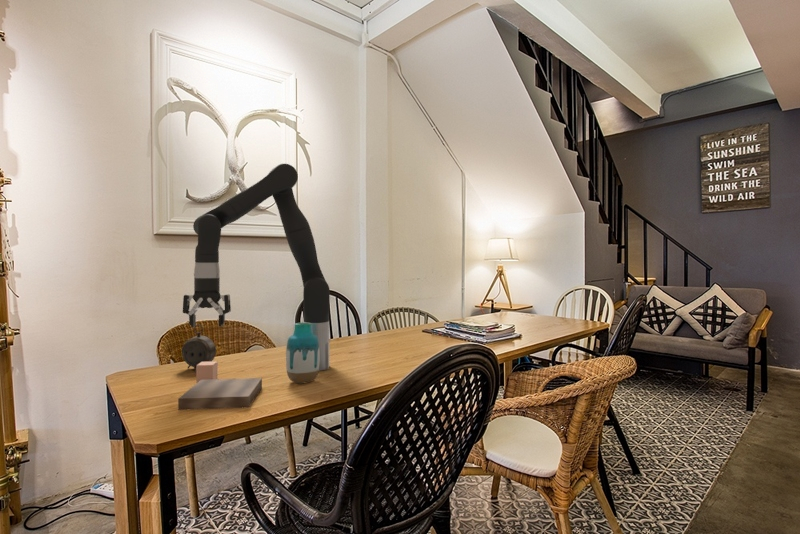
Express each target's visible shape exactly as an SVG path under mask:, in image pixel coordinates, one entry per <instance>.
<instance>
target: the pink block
mask: <svg viewBox="0 0 800 534" xmlns="http://www.w3.org/2000/svg"><path fill="white" fill-rule="evenodd" d="M195 371H196V383H195V384H197V383H198V382H199V381H200V380H212V379H218V360H217V361H216V360H215V361H214V360H212V362H201V363H199V364H198V365H196V370H195Z"/></svg>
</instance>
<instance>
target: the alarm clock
mask: <svg viewBox="0 0 800 534" xmlns="http://www.w3.org/2000/svg"><path fill="white" fill-rule="evenodd" d="M196 327H201V329H202V330H201V331H198V332H197V331H196ZM203 331H204V327H203V325H202V324H196V326H195V327H193V332H194V333H195V334H196V336H194V337H191V338H189V339H187V340H186V341H185V342H184V343H183V345H182V349H181V356H182V358H183V360H184V362H185V363H186V364H187V365H188V366H187V369H190V367H192V368H193V371H194V372H195V371H196V365H198V364H199V363H201V362H212V361H214V359H215V357H216V354H217V350H216V349H217V348H216V345H215V343H214V341H213V340H212V339H211V338H209V337H207V336H205V335H201V334H202V333H203Z"/></svg>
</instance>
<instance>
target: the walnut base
mask: <svg viewBox="0 0 800 534" xmlns="http://www.w3.org/2000/svg"><path fill="white" fill-rule="evenodd" d="M262 385H263V379H262V378H261V377H259V378H258V377H255V378H221V379H220V378H219V379H218V378H217V379H212V380H200V381H199V382H198V383H197V384H196V383H195V384H194V385H193V386H191V388H189V389H188V390H187V391H185V392H184V393H183V394H182V395H180V397H178V398H177V400H178V401H177V405H178V406H177V409H178V411H182V410H183V411H184V410H187V409H190V410H208V409H209V410H213V409H214V410H216V409H218V408H219V409H241V408H242V407H243V409H244V407H250V406H251V405H252V404H253V402H254V401H255V400H256V397H257V396H258V394H259V393H260V391H261V390H262V388H263V386H262Z"/></svg>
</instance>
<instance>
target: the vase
mask: <svg viewBox="0 0 800 534" xmlns="http://www.w3.org/2000/svg"><path fill="white" fill-rule="evenodd" d="M293 327H294V329H293V333H292V335H290V336H289V337H288V338H287V341H286V347H285V348H286V349H285V351H286V352H285V362H286V373H287V377H288V379H289V380H290V381H291V382H293V383H295V384H296V383H297V384H306V383H307V384H308V383H311V382H312V381H314V380H315V379H316V378H317V376H318V374H319V372H320V371H319V361H320V350H319V340H318V338H317V336H316V335H314V334H313V333H312V325H311V323H307V322H304V321H303V322H302V321H301V322H296V323H294V326H293Z"/></svg>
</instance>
